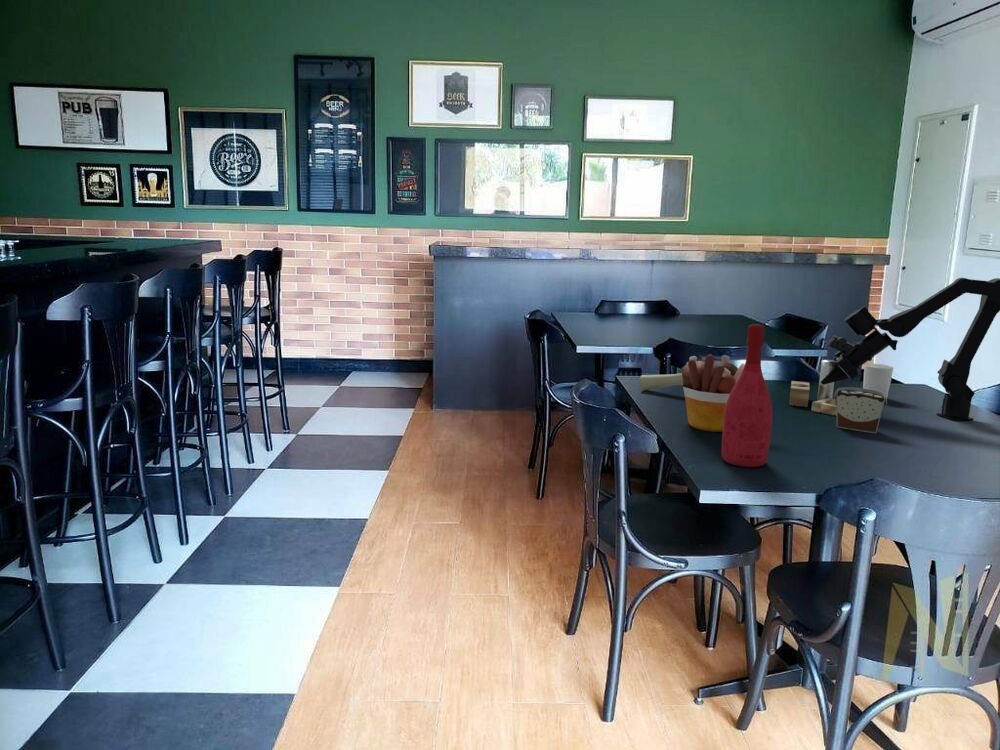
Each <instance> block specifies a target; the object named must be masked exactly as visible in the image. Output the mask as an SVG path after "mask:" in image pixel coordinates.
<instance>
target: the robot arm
mask: <svg viewBox="0 0 1000 750" xmlns="http://www.w3.org/2000/svg"><path fill="white" fill-rule="evenodd" d="M966 293H967V294H971V295H972V294H973V295H979V296H980V295H981V296H980V301H979V307H978V310H977V313H976V314H975V316H974V318H973V320H972V322H971V324H970V326H969V328H968V329H967V332H966V333H965V335H964V337H963V338H962V341H961V343H960V344H959V347H958V349H957V351H956V353H955V355H954V356H953V357H952V358H951V359H950V360H949V361H948V360H946V359H943V361H942V364H941V367H940V369H939V370H937V374H938V376H937V380H938V383H939V384H940V385H941V386H942V387H943V388H944V389H945V392H946V393H944V397H943V398H942V399H943V400H942V406H941V412H937V413H936V415H937V416H939V417H942V418H944V419H949V420H951V421H974V420H975V419H974V417H970V412H971V404H972V399H973V397H974V396H975V394H976V393H975V392H974V391H973V389H971V388H970V386H969V385H968V384H967V383H968V380H969V376H970V372H971V365H972V362H973V359H974V358H975V356H976V354H977V352H978V350H979V348H980V346H981V345H982V343H983V340H984V339H985V336H986V335H987V333H988V331H989V329H990V327H991V326H992V323H993V322H994V319H995V318H996V316H997V314H998V313H1000V278H998V277H996V278H992V279H990V280H980V279H972V278H971V279H970V278H969V279H968V278H965V277H958V278H957V279H955V280H954V281H953V282H952V283H950V284H948V285H947V286H946V287H944V288H942V289H940V290H938V291H937V292H936V293H934V294H933V295H931V296H929V297H928V298H926V299H925V300H923V301H922V302H920V303H919V304H917V305H916V306H913V307H912V308H909V309H906V310H903V311H899V312H897V313H896V314H894V315H892V316H889V317H888V318H884V319H883V318H879V319H876V317H874V315H872V314H871V312H870V310H868V308H867V307H866V306H865V305H863V306H862V307H861V308H859V309H857V310H856V311H853V312H852V313H850V314H849V315H848V316H847V317H845V319H843V323H844V324H845V325H846V326H847V327H848V328H849V329H850V330H851V332H852V333H854V334H855V336H862V337H864V338H862V339H861V340H859V341H855V342H853V343H851V342H849V341H848V340H847V338H845V337H843V336H841V337H840V336H837V335H835V334H833V335H832V337H831V339H830V340H829V341H828V343H827V344H828V345H827V346H828V347H830V348H831V349H835V350H838V351H836V352H835V353H834V356H833V359H832V360H833V361H835V362H834V368H833V369H832V370H831V372H830V373H829V374H828V375H827V376H826V377H825V378H824V379H823V380H822V381H821V383H822V384H823V385H824V384H828V383H832V382H834V383H836V382H839V381H843V380H849V379H851V380H852V381H853V380H854V379H856V378H857V377H858V376H859V370H860V367H861V366H863V365H865V364H867V362H871V361H873V358H874V357H875V356H877V355H879V354H880V353H881V352H883V351H884V350H885V349H887V348H888V347H890V348H891V349H892V350H893V351H896V350H897V345H898V342H899V341H898V340H897V339H892V338H891V336H893V337H894V338H895V337H896V338H903V337H905V336H907V335H909V334H910V333H911V332H912V331H913V330H914V329H915V328H916V327H918V325H919V324H920V323H922V322H923V320H924V319H926V318H927V317H929V316H930V315H932V314H934V313H935V312H937V311H939V310H940V309H941V308H943V307H945V306H946V305H948V304H950V303H951V302H953V301H954V300H956V299H959V298H960V297H961V296H962V295H964V294H966ZM876 326H877V327H879V329H880V330H882V331H885V332H883V333H881V332H880V330H878V329H877V327H876ZM887 332H888V333H889V334H890V335H891V336H890V335H889V334H888V333H887ZM836 357H837V358H836ZM836 361H837V362H836Z"/></svg>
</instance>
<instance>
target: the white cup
mask: <svg viewBox="0 0 1000 750" xmlns="http://www.w3.org/2000/svg"><path fill="white" fill-rule="evenodd" d="M863 369H864V371H863V385H862V388H863V389H870V390H875V391H879V392H882V393H884V394H886V397H887V398H888V394H889V390H890V386H891V383H892V377H893V372H894V366H891V365H888V364H883V363H882V364H881V363H864V368H863Z"/></svg>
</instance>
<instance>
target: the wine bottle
mask: <svg viewBox="0 0 1000 750" xmlns="http://www.w3.org/2000/svg"><path fill="white" fill-rule="evenodd" d="M765 329H766V328H765V326H764V325H763V324H759V323H753V324H750V325H748V327H747V334H748V335H747V340H746V346H747V353H746V359H745V363H744V364H745V366H744V369H743V371H742V373H741V375H740V377H739V379H738V380H737V382H736V384H735V386H734V387H733V389H732V391H731V393H730V395H729V398H728V400H727V403H726V406H725V412H724V421H723V432H722V436H721V458H722V459H723V461H725V462H726V463H727V464H731V465H734V466H736V467H741V468H742V467H744V468H757V467H762V466H764V465H765V464H766V463H767V461H768V457H769V452H770V444H771V436H772V433H771V432H772V428H773V404H772V399H771V396H770V392H769V388H768V386H767V383H766V381H765V380H766V379H765V377H764V375H763V370H762V348H763V346H764V336H765Z"/></svg>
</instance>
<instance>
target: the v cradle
mask: <svg viewBox="0 0 1000 750" xmlns="http://www.w3.org/2000/svg"><path fill="white" fill-rule="evenodd" d="M811 411H812V412H816V413H820V412H821V413H822V414H825V415H829V416H834V415H835V417H837V398H833V397H832V398H827V399H823V400H819V401H817V400H814V401H812V403H811ZM821 413H820V414H821Z"/></svg>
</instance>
